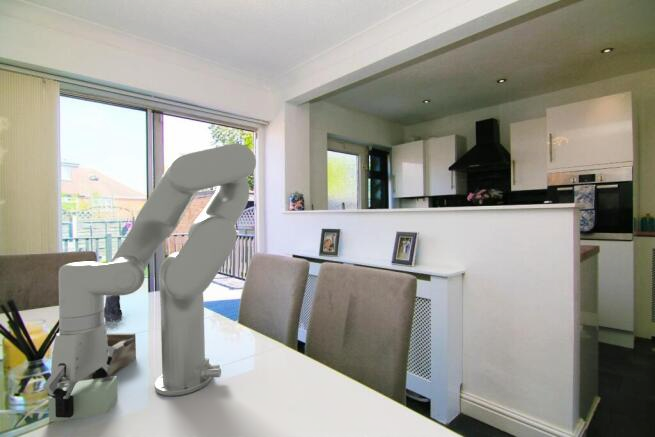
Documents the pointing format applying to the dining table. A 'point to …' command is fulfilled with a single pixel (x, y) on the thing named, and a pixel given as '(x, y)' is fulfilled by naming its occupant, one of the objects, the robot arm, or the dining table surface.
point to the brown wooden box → (119, 352)
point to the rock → (112, 307)
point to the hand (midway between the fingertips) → (83, 402)
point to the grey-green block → (89, 398)
